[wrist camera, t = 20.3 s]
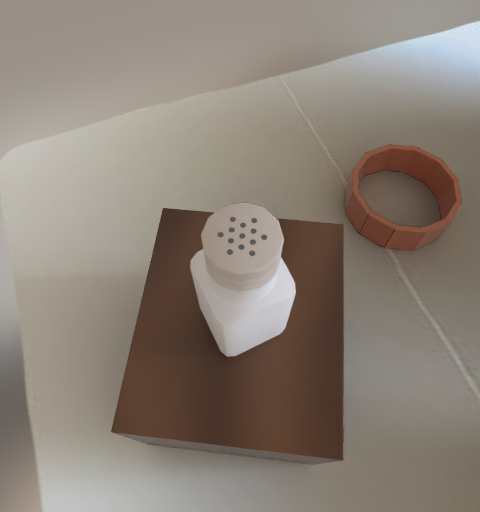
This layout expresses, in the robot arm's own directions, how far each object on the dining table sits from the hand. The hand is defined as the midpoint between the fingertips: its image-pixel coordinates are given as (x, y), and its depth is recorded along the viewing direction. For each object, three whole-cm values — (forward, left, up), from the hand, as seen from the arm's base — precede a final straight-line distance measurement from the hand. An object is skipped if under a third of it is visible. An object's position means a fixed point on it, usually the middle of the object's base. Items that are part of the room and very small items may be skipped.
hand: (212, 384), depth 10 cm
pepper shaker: (0, -6, -14) cm, 15 cm away
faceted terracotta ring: (-13, -22, -23) cm, 35 cm away
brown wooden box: (0, -6, -24) cm, 24 cm away
